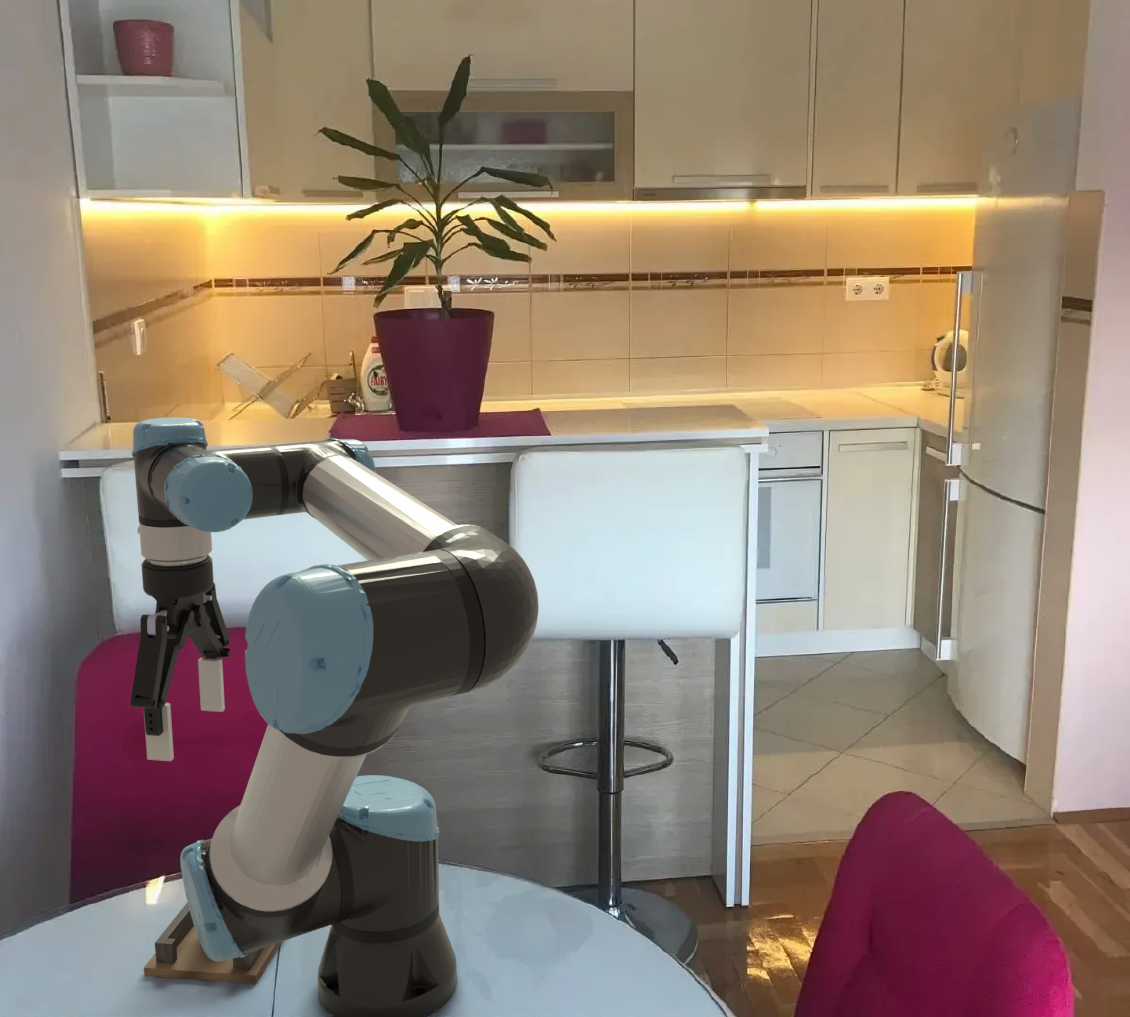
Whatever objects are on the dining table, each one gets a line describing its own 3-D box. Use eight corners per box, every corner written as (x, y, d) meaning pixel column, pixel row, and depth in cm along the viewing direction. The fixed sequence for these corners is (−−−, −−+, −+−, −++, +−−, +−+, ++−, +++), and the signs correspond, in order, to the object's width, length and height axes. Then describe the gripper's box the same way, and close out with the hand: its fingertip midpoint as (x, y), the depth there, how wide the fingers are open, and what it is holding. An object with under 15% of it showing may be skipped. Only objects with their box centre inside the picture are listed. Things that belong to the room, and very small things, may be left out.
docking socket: (296, 918, 137) (295, 892, 136) (256, 983, 124) (254, 955, 123) (194, 911, 138) (192, 885, 137) (144, 975, 125) (141, 947, 125)
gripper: (194, 528, 138) (203, 690, 143) (85, 587, 114) (101, 780, 118) (252, 531, 137) (260, 694, 142) (156, 591, 113) (169, 785, 118)
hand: (188, 733), depth 130 cm, fingers open, 13 cm apart
